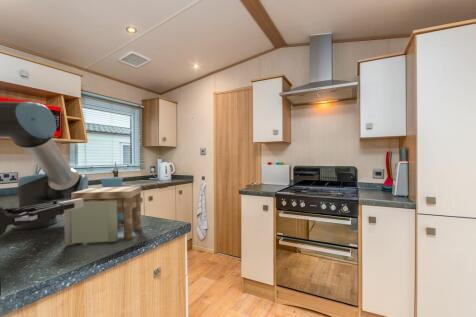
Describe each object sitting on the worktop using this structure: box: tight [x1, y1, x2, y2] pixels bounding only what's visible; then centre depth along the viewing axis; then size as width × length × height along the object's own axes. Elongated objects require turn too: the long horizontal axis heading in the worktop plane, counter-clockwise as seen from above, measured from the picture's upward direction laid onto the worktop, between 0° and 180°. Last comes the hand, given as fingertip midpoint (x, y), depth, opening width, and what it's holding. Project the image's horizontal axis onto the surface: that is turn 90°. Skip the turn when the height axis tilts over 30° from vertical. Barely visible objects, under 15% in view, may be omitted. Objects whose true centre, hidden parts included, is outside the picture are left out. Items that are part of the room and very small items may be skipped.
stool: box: [71, 185, 143, 241], centre depth 91 cm, size 20×14×18 cm
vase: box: [99, 177, 124, 222], centre depth 114 cm, size 8×8×20 cm
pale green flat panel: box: [63, 200, 119, 246], centre depth 82 cm, size 17×3×15 cm, turn 96°
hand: (81, 202), depth 75 cm, fingers closed
